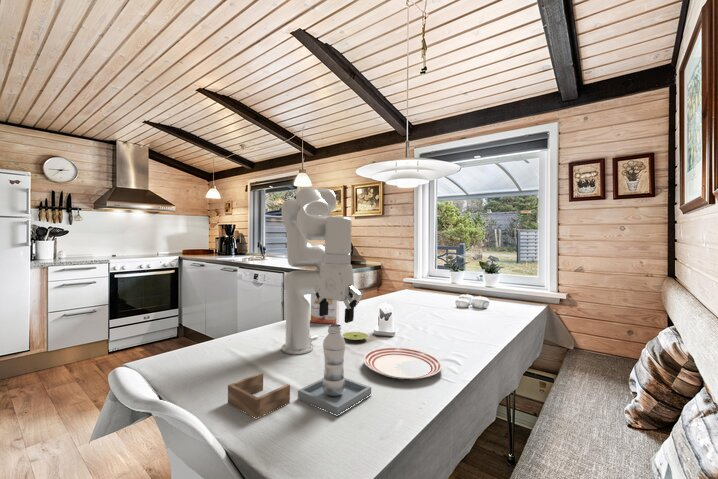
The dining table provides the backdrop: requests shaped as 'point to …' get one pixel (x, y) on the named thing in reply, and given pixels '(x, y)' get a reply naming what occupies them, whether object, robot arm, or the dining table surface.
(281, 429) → the dining table surface
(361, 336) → the mat
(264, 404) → the walnut bay
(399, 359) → the dinner plate
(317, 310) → the cracker box
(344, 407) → the grey square tray
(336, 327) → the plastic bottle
